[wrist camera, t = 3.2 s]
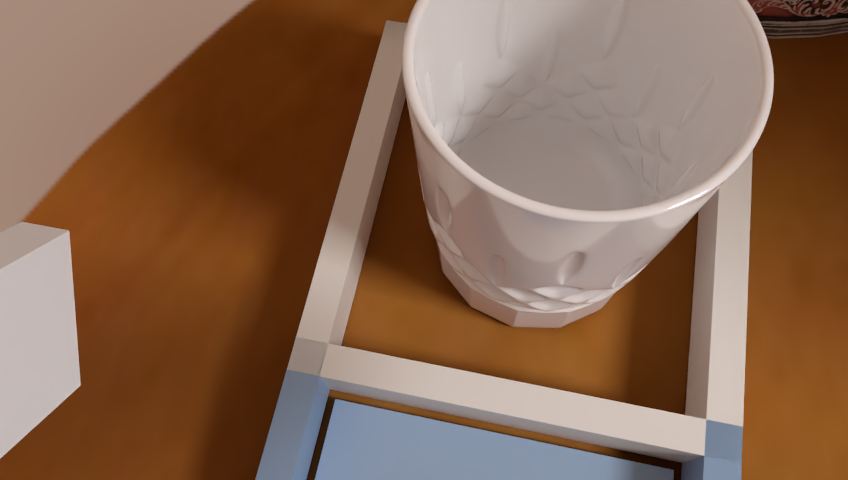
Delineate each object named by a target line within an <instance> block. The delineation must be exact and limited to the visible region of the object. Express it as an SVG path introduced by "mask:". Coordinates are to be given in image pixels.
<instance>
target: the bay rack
mask: <svg viewBox="0 0 848 480" xmlns="http://www.w3.org/2000/svg"><path fill="white" fill-rule="evenodd" d="M406 26H407V23H403V22H396V21H389V20H386V24H385V27H384V31H383V34H382V38H381V41H380V45H379V48H378V52H377V55H376V59H375V62H374V66H373V69H372V73H371V76H370V80H369V83H368V87H367V90H366V94H365V97H364V101H363V104H362V108H361V111H360V115H359V118H358V122H357V125H356V129H355V132H354V136H353V139H352V143H351V146H350V150H349V153H348V157H347V160H346V164H345V167H344V171H343V174H342V178H341V181H340V185H339V188H338V192H337V195H336V199H335V202H334V206H333V209H332V213H331V216H330V220H329V223H328V227H327V230H326V234H325V237H324V241H323V244H322V248H321V251H320V255H319V258H318V262H317V265H316V269H315V272H314V276H313V279H312V283H311V286H310V290H309V293H308V297H307V300H306V304H305V307H304V311H303V314H302V318H301V321H300V325H299V328H298V332H297V335H296V339H295V342H294V346H293V349H292V353H291V356H290V360H289V363H288V367H287V370H286V374H285V377H284V381H283V384H282V388H281V391H280V395H279V398H278V402H277V405H276V409H275V412H274V416H273V419H272V423H271V426H270V430H269V433H268V437H267V440H266V444H265V447H264V451H263V454H262V458H261V461H260V465H259V468H258V472H257V475H256V479H255V480H307V476H308V472H309V468H310V464H311V460H312V457H313V453H314V449H315V445H316V441H317V437H318V433H319V430H320V426H321V422H322V418H323V414H324V410H325V407H326V403H327V399H328V395H329V391H330V390H335V391H340V392H345V393H349V394H354V395H359V396H364V397H369V398H373V399H378V400H383V401H388V402H393V403H397V404H402V405H407V406H412V407H417V408H421V409H426V410H431V411H436V412H441V413H445V414H450V415H455V416H460V417H465V418H469V419H474V420H479V421H484V422H489V423H493V424H498V425H503V426H508V427H513V428H517V429H522V430H527V431H532V432H537V433H541V434H546V435H551V436H556V437H561V438H565V439H570V440H575V441H580V442H585V443H589V444H594V445H599V446H604V447H609V448H613V449H618V450H623V451H628V452H633V453H637V454H642V455H647V456H652V457H657V458H661V459H666V460H671V461H676V462H681V463H682V468H681V480H741V466H742V438H743V410H744V382H745V354H746V326H747V298H748V270H749V242H750V214H751V186H752V158H753V150H752V151H751V153H750V154H749V155H748V157H747V158H746V159H745V161H744V162H743V163H742V164H741V165H740V166H739V168H738V169H737V170H736V171H735V172H734V173H733V174H732V175H731V176H730V177H729V178H728V179H727V180H726V182H725V183H724V184H723V185H722V186H721V187H720V188H719V189H718V190H717V191H716V192H715V193H714V195H713V196H712V197H711V198H710V199H709V200H708V201H707V202H706V203H705V204H704V205H703V207H702V208H701V209H700V210H699V213H698V228H697V243H696V258H695V273H694V288H693V303H692V318H691V333H690V348H689V363H688V378H687V393H686V408H685V415H682V414H677V413H672V412H667V411H662V410H657V409H652V408H647V407H642V406H637V405H632V404H627V403H622V402H617V401H612V400H607V399H602V398H597V397H592V396H587V395H583V394H578V393H573V392H568V391H563V390H558V389H553V388H548V387H543V386H538V385H533V384H528V383H523V382H518V381H513V380H508V379H503V378H498V377H493V376H488V375H483V374H478V373H473V372H468V371H463V370H458V369H453V368H448V367H443V366H438V365H434V364H429V363H424V362H419V361H414V360H409V359H404V358H399V357H394V356H389V355H384V354H379V353H374V352H369V351H364V350H359V349H354V348H349V347H344V346H341V345H342V341H343V337H344V333H345V329H346V326H347V322H348V318H349V314H350V310H351V306H352V302H353V299H354V295H355V291H356V287H357V283H358V279H359V275H360V272H361V268H362V264H363V260H364V256H365V252H366V248H367V245H368V241H369V237H370V233H371V229H372V225H373V221H374V218H375V214H376V210H377V206H378V202H379V198H380V194H381V191H382V187H383V183H384V179H385V175H386V171H387V167H388V164H389V160H390V156H391V152H392V148H393V144H394V140H395V137H396V133H397V129H398V125H399V121H400V117H401V113H402V110H403V106H404V102H405V98H406V93H405V87H404V82H403V74H402V46H403V39H404V34H405V30H406ZM673 477H674V470H672V469H667V468H662V467H657V466H653V465H648V464H643V463H638V462H634V461H629V460H624V459H619V458H614V457H610V456H605V455H600V454H595V453H591V452H586V451H581V450H576V449H572V448H567V447H562V446H557V445H552V444H548V443H543V442H538V441H533V440H529V439H524V438H519V437H514V436H510V435H505V434H500V433H495V432H490V431H486V430H481V429H476V428H471V427H467V426H462V425H457V424H452V423H448V422H443V421H438V420H433V419H428V418H424V417H419V416H414V415H409V414H405V413H400V412H395V411H390V410H386V409H381V408H376V407H371V406H366V405H362V404H357V403H352V402H347V401H343V400H338V399H335V402H334V406H333V410H332V414H331V418H330V422H329V426H328V430H327V434H326V437H325V441H324V445H323V449H322V453H321V457H320V461H319V465H318V469H317V473H316V477H315V480H673Z"/></svg>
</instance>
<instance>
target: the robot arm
mask: <svg viewBox="0 0 848 480" xmlns="http://www.w3.org/2000/svg"><path fill="white" fill-rule="evenodd" d="M80 386H81V382H80V369H79V355H78V342H77V328H76V315H75V302H74V288H73V275H72V262H71V248H70V235H69V230H64V229H58V228H53V227H47V226H42V225H36V224H31V223H26V222H20V223H18V224H16V225H14V226H12V227H10V228H8V229H6V230H4V231H2V232H0V458H1V457H3V456H4V455H5V454H6V453H7V452H8V451H9V450H10V449H11V448H12V447H14V446H15V445H16V444H17V443H18V442H19V441H20V440H21V439H22V438H23V437H25V436H26V435H27V434H28V433H29V432H30V431H31V430H32V429H33V428H34V427H36V426H37V425H38V424H39V423H40V422H41V421H42V420H43V419H44V418H45V417H47V416H48V415H49V414H50V413H51V412H52V411H53V410H54V409H55V408H56V407H58V406H59V405H60V404H61V403H62V402H63V401H64V400H65V399H66V398H67V397H69V396H70V395H71V394H72V393H73V392H74V391H75V390H76V389H77V388H78V387H80Z"/></svg>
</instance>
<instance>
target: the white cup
mask: <svg viewBox="0 0 848 480" xmlns="http://www.w3.org/2000/svg"><path fill="white" fill-rule="evenodd" d="M402 74H403V82H404V87H405V93H406V99H407V104H408V110H409V116H410V122H411V128H412V134H413V140H414V146H415V153H416V158H417V164H418V171H419V177H420V182H421V188H422V194H423V201H424V203H425V207H426V210H427V216H428V221H429V225H430V227H431V230H432V232H433V234H434V236H435V240H436V244H437V249H438V253H439V258H440V263H441V267H442V271H443V273H444V275H445V276H446V277H447V278H448V279H449V281H450V282H451V283H452V284H453V286H454V287H455V288H456V289H457V291H458V292H459V293H460V294H461V295H462V297H463V298H464V299H465V300H466V302H467V303H468V304H469V305H470V306H471V307H472V308H474V309H476V310H478V311H480V312H483V313H485V314H487V315H489V316H491V317H493V318H495V319H497V320H499V321H501V322H503V323H505V324H507V325H509V326H511V327H535V328H560V327H563V326H565V325H567V324H569V323H572V322H574V321H576V320H578V319H580V318H583V317H585V316H587V315H589V314H592V313H594V312H596V311H598V310H600V309H601V308H602V307H603V306H604V305H605V304H606V303H607V302H608V300H609V299H610V298H611V297H612V296H613V295H614V293H615V292H616V291H618V290H619V289H620V288H622V287H623V286H624V285H626V284H627V283H628V282H630V281H631V280H632V279H633V278H634V277H636V276H637V275H638V273H639V272H641V271H642V270H643V269H644V268H645V267H646V266H647V265H648V264H649V263H650V261H651V260H653V259H654V257H656V256H657V255H658V254H659V253H660V252H661V251H662V250H663V249H664V248H665V247H666V246H667V245H668V244H669V243H670V242H671V241H672V240H673V239H674V238H675V236H676V235H677V234H678V233H679V232H680V231H681V230H682V229H683V227H684V226H685V225H686V224H687V223H688V222H689V221H690V220H691V219H692V218H693V216H694V215H695V214H696V213H697V212H698V211H699V210H700V209H701V208H702V207H703V205H704V204H705V203H706V202H707V201H708V200H709V199H710V198H711V197H712V196H713V195H714V193H715V192H716V191H717V190H718V189H719V188H720V187H721V186H722V185H723V184H724V183H725V182H726V180H727V179H728V178H729V177H730V176H731V175H732V174H733V173H734V172H735V171H736V170H737V169H738V168H739V166H740V165H741V164H742V163H743V162H744V161H745V159H746V158H747V157H748V155H749V154H750V153H751V151H752V150H753V148H754V147H755V145H756V143H757V142H758V140H759V138H760V136H761V134H762V132H763V130H764V127H765V125H766V122H767V119H768V116H769V113H770V109H771V104H772V99H773V90H774V70H773V62H772V56H771V51H770V47H769V44H768V40H767V37H766V35H765V32H764V30H763V27H762V25H761V23H760V21H759V19H758V17H757V15H756V13H755V12H754V10H753V8H752V7H751V5H750V4H749V2H748V1H747V0H417V1H416V3H415V5H414V7H413V10H412V12H411V14H410V17H409V20H408V23H407V26H406V30H405V34H404V39H403V46H402Z"/></svg>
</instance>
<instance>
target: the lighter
mask: <svg viewBox="0 0 848 480" xmlns="http://www.w3.org/2000/svg"><path fill="white" fill-rule="evenodd" d="M747 1H748V2H749V4H750V5H751V7H752V8H753V10H754V12H755V13H756V15H757V17H758V19H759V21H760V23H761V25H762V27H763V30H764V32H765V35H766V37H767V38H773V39H779V38H806V37H821V36H827V35H833V34H840V33H846V32H848V0H747Z"/></svg>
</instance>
